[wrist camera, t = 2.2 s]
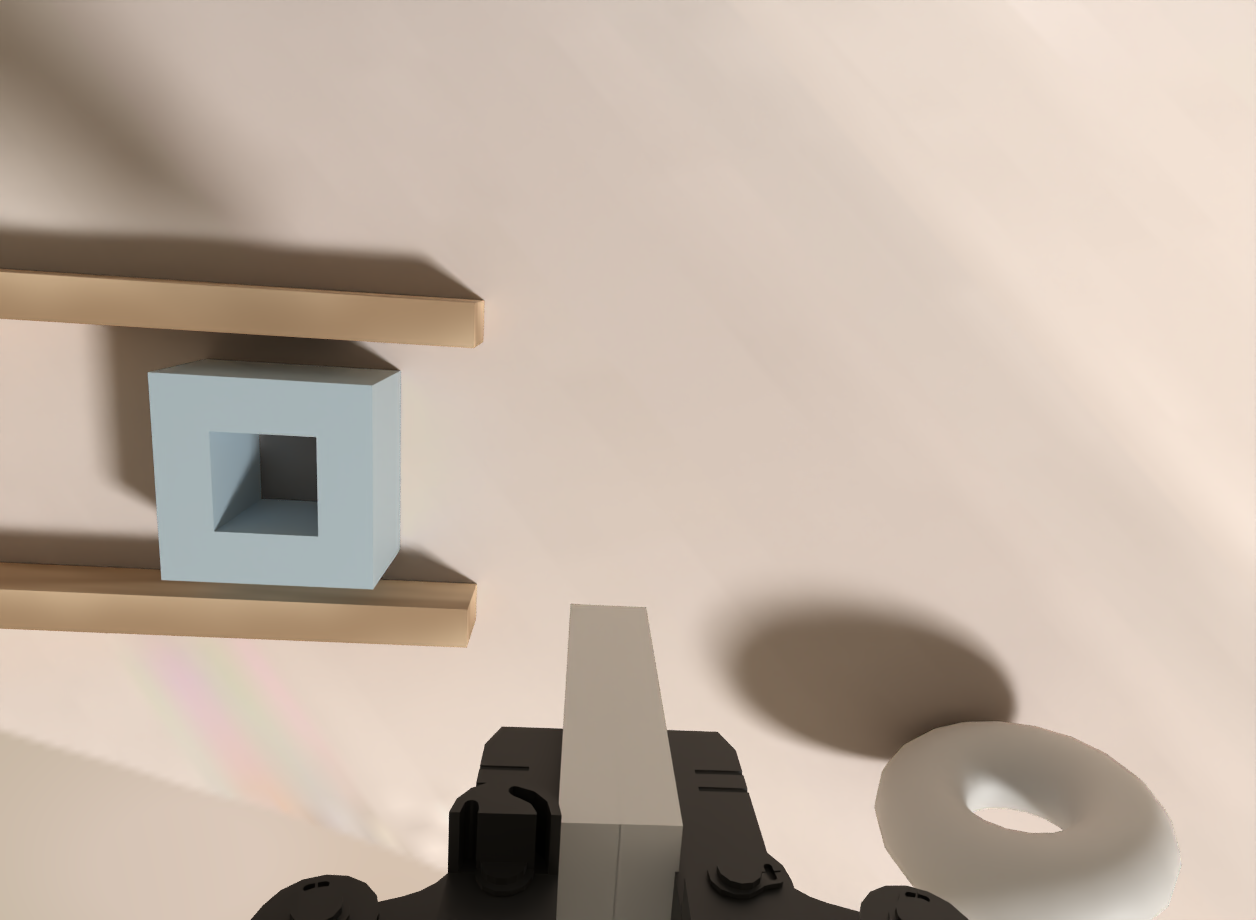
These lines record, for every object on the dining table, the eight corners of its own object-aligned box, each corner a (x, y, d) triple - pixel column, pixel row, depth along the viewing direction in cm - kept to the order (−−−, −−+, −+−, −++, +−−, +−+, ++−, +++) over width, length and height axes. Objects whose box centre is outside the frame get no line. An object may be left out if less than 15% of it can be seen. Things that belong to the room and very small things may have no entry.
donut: (842, 791, 35) (940, 992, 25) (839, 720, 34) (939, 899, 24) (1070, 764, 35) (1255, 954, 25) (1072, 692, 34) (1264, 860, 25)
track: (-213, 254, 28) (-314, 252, 25) (484, 300, 29) (471, 304, 26) (-159, 591, 31) (-243, 628, 28) (475, 619, 32) (463, 656, 29)
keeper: (205, 359, 30) (147, 372, 26) (400, 370, 30) (372, 385, 26) (215, 541, 31) (161, 580, 27) (399, 550, 31) (373, 589, 28)
